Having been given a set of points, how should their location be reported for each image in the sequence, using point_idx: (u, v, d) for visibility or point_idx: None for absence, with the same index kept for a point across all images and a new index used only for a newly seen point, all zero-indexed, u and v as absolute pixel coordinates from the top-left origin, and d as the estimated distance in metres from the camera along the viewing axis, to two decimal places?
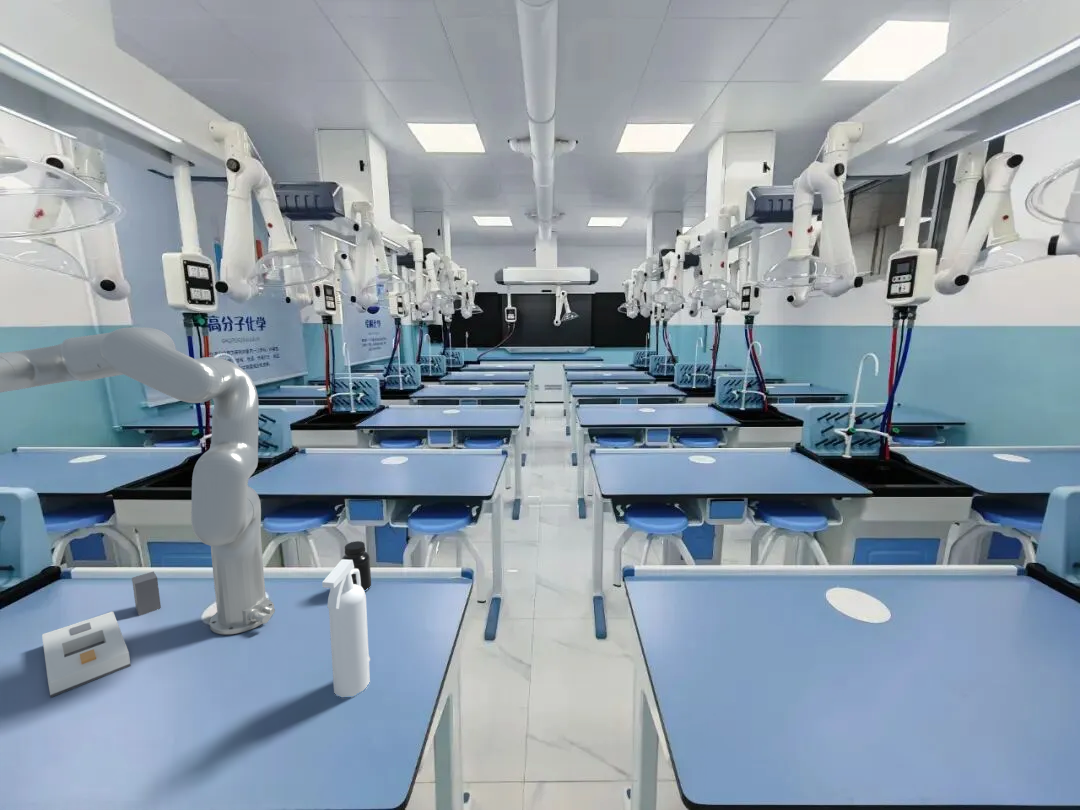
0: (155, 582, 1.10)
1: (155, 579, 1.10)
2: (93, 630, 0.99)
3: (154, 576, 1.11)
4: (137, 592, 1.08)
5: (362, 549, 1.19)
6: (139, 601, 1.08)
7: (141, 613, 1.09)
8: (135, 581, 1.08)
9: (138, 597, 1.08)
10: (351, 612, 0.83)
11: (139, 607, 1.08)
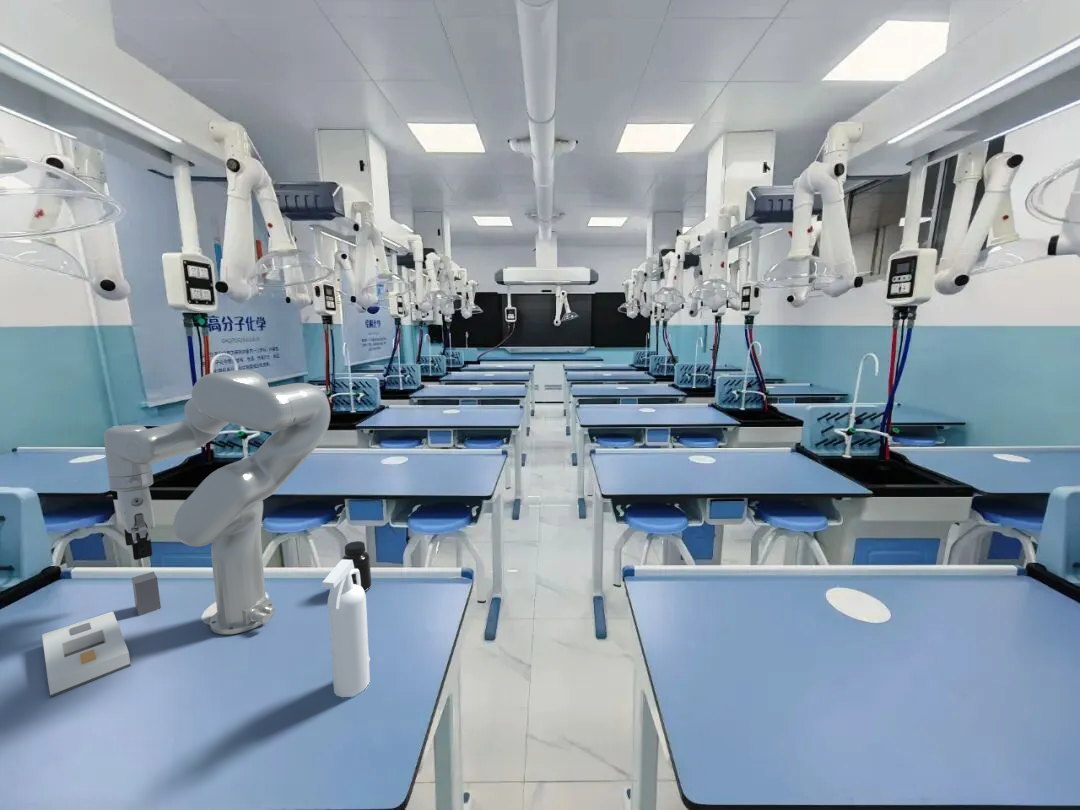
0: (155, 582, 1.10)
1: (155, 579, 1.10)
2: (93, 630, 0.99)
3: (154, 576, 1.11)
4: (137, 592, 1.08)
5: (362, 549, 1.19)
6: (139, 601, 1.08)
7: (141, 613, 1.09)
8: (135, 581, 1.08)
9: (138, 597, 1.08)
10: (351, 612, 0.83)
11: (139, 607, 1.08)
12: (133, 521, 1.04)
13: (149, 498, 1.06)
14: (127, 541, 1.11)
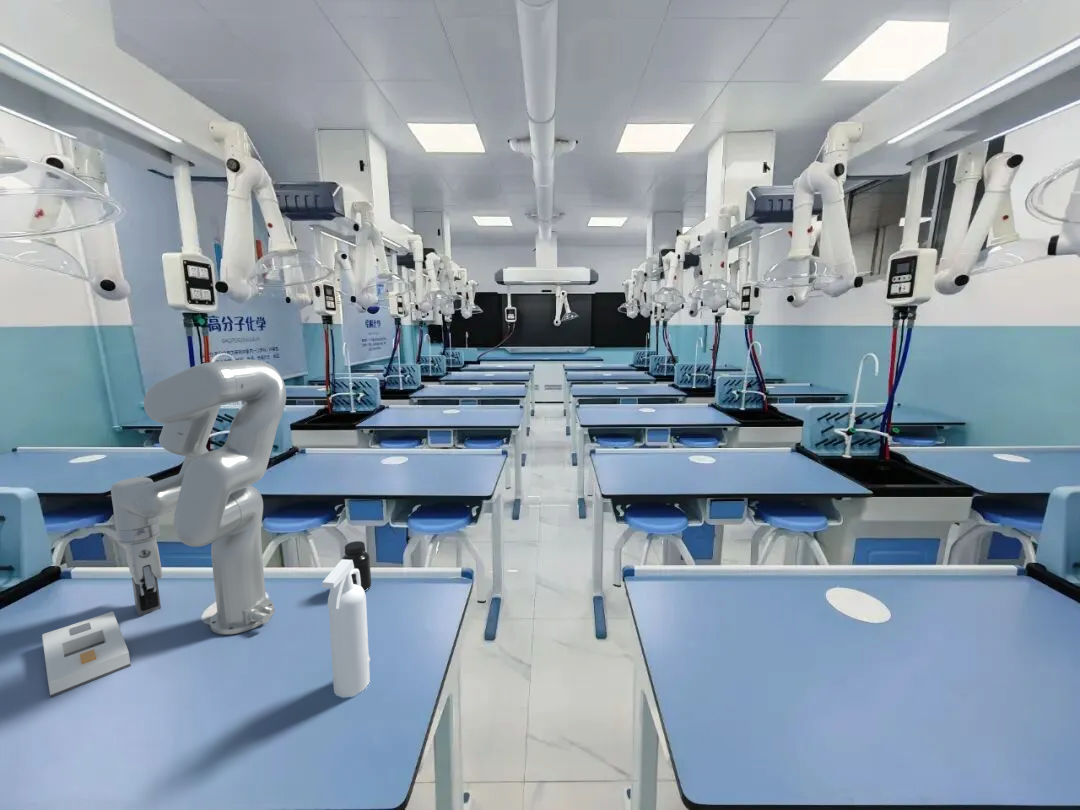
0: (155, 582, 1.10)
1: (155, 579, 1.10)
2: (93, 630, 0.99)
3: (154, 576, 1.11)
4: (137, 592, 1.08)
5: (362, 549, 1.19)
6: (139, 601, 1.08)
7: (141, 613, 1.09)
8: None
9: (138, 597, 1.08)
10: (351, 612, 0.83)
11: (139, 607, 1.08)
12: (141, 573, 1.06)
13: (156, 549, 1.08)
14: None
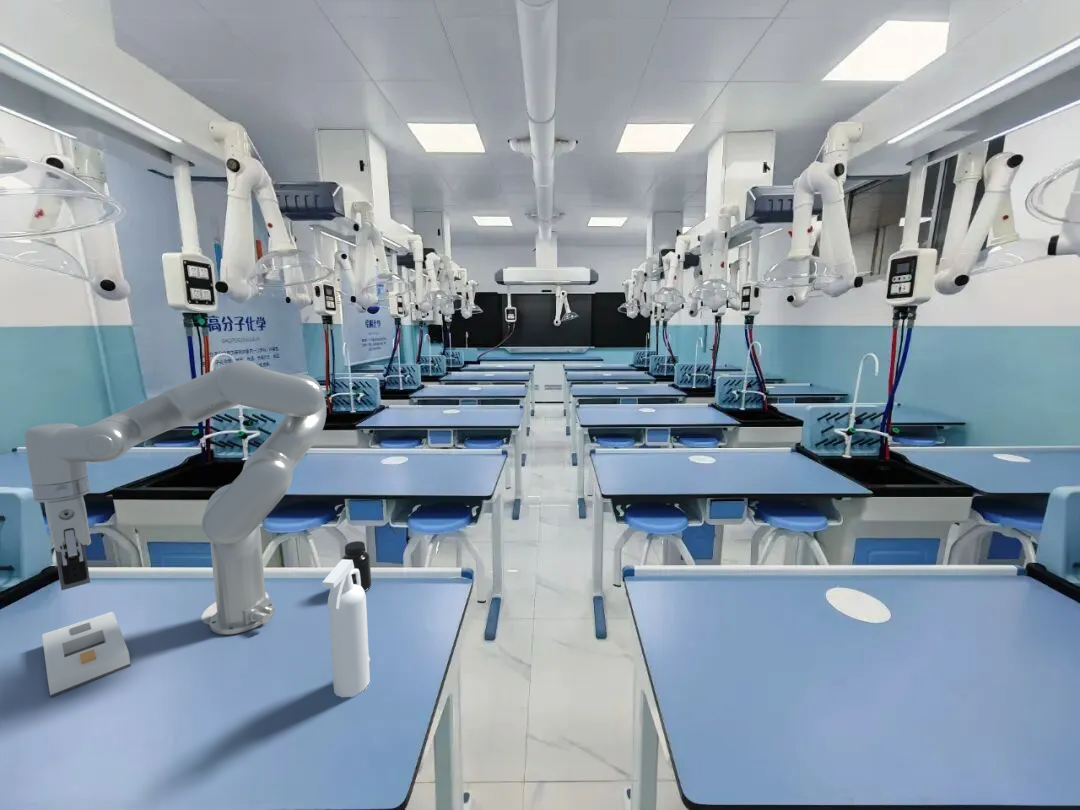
0: (82, 550, 0.92)
1: (82, 547, 0.91)
2: (93, 630, 0.99)
3: None
4: (58, 562, 0.89)
5: (362, 549, 1.19)
6: (61, 573, 0.90)
7: (64, 587, 0.90)
8: None
9: (60, 568, 0.89)
10: (351, 612, 0.83)
11: (61, 580, 0.90)
12: (62, 538, 0.87)
13: (82, 510, 0.89)
14: None
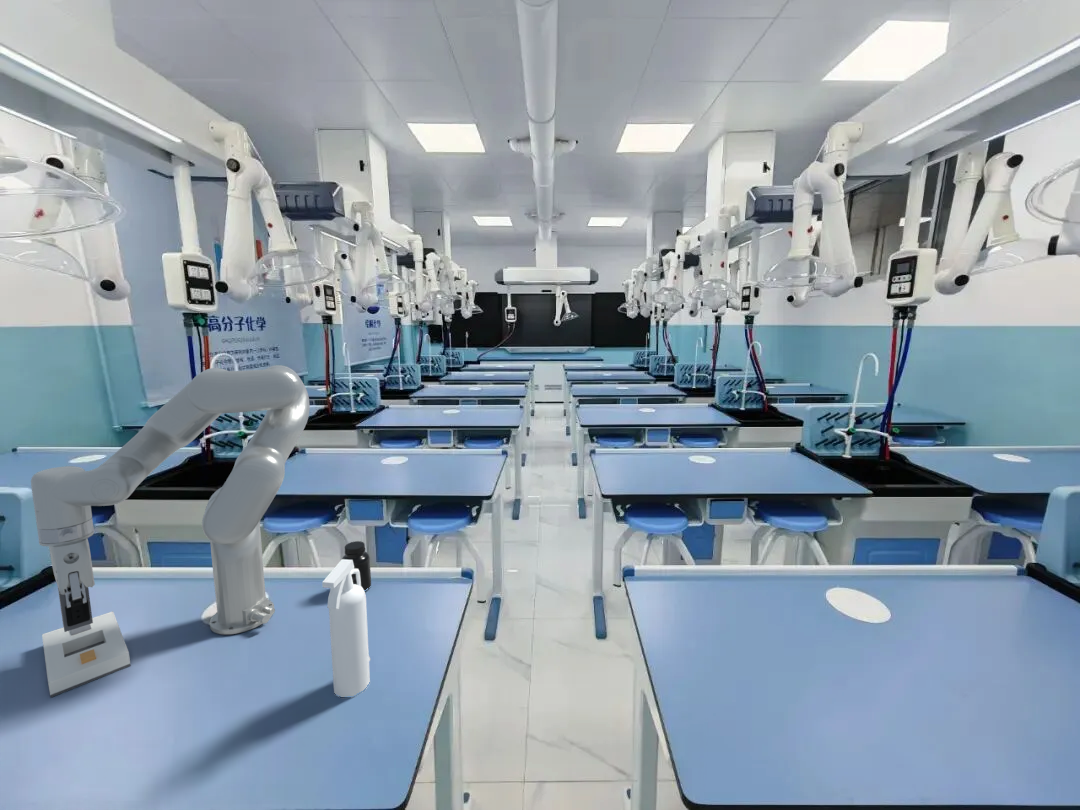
0: (85, 592, 0.93)
1: (85, 588, 0.92)
2: (93, 630, 0.99)
3: None
4: (62, 604, 0.90)
5: (362, 549, 1.19)
6: (65, 614, 0.91)
7: (67, 629, 0.91)
8: None
9: (63, 610, 0.90)
10: (351, 612, 0.83)
11: (64, 622, 0.91)
12: (66, 581, 0.88)
13: (87, 553, 0.90)
14: None
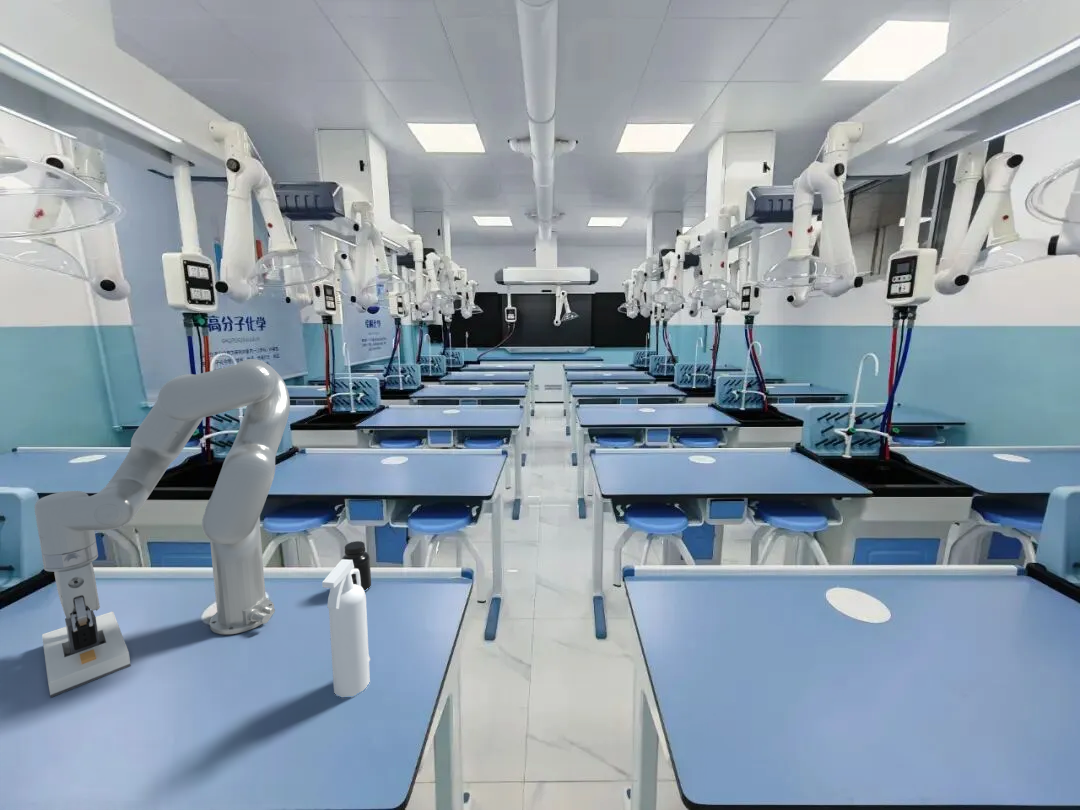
0: (93, 623, 0.94)
1: (93, 620, 0.94)
2: None
3: (92, 616, 0.94)
4: (70, 636, 0.91)
5: (362, 549, 1.19)
6: (73, 647, 0.92)
7: None
8: (68, 623, 0.92)
9: (72, 642, 0.92)
10: (351, 612, 0.83)
11: None
12: (72, 605, 0.89)
13: (91, 577, 0.91)
14: None
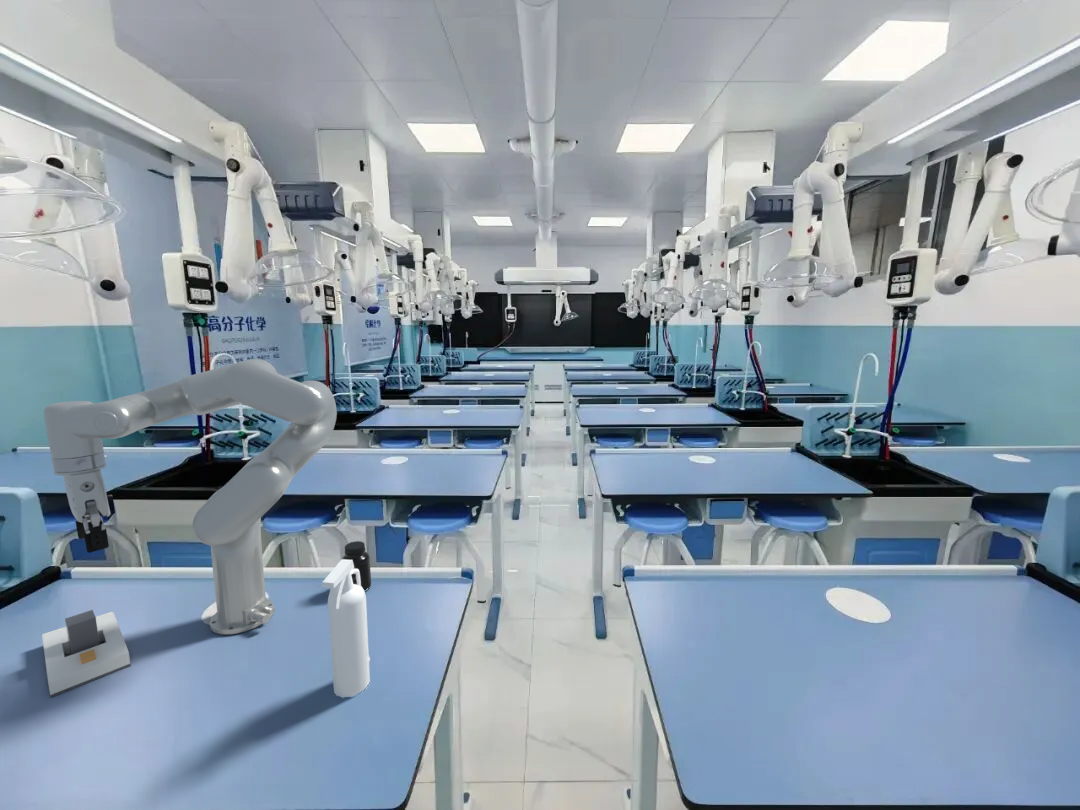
0: (93, 623, 0.94)
1: (93, 620, 0.94)
2: None
3: (92, 616, 0.94)
4: (70, 636, 0.91)
5: (362, 549, 1.19)
6: (73, 647, 0.92)
7: None
8: (68, 623, 0.92)
9: (72, 642, 0.92)
10: (351, 612, 0.83)
11: None
12: (84, 508, 0.91)
13: (102, 482, 0.93)
14: (79, 534, 0.98)
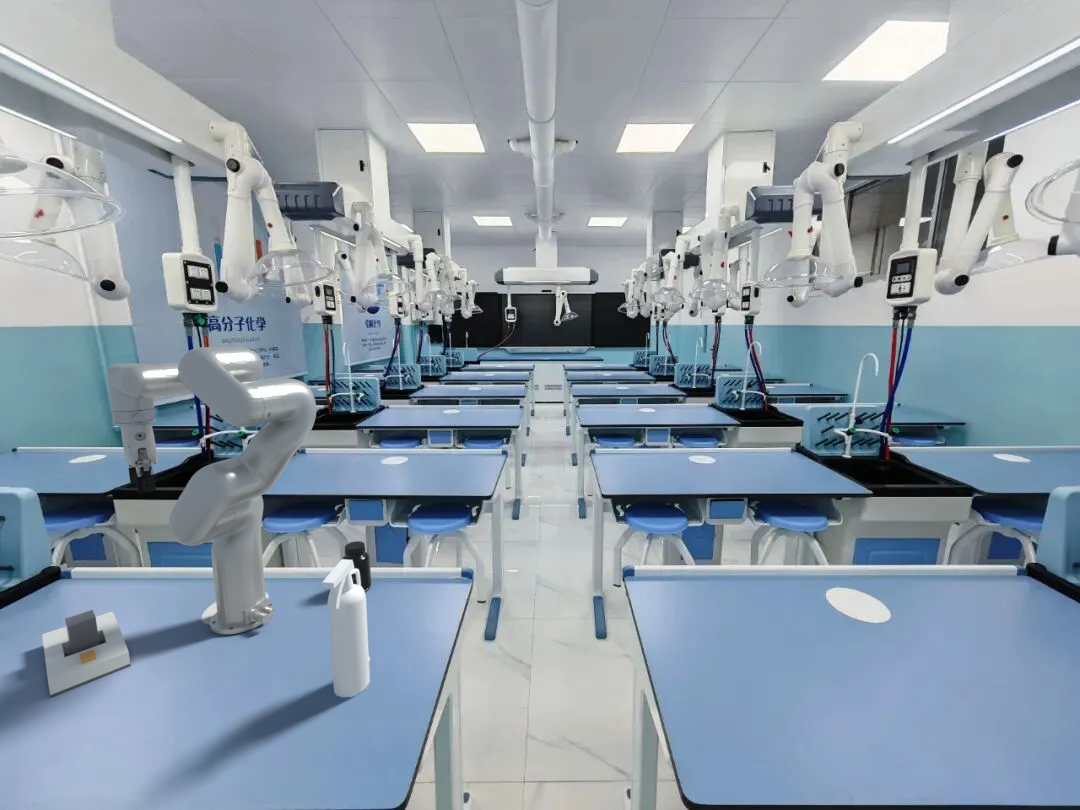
0: (93, 623, 0.94)
1: (93, 620, 0.94)
2: None
3: (92, 616, 0.94)
4: (70, 636, 0.91)
5: (362, 549, 1.19)
6: (73, 647, 0.92)
7: None
8: (68, 623, 0.92)
9: (72, 642, 0.92)
10: (351, 612, 0.83)
11: None
12: (137, 455, 1.07)
13: (152, 434, 1.09)
14: (131, 479, 1.14)
